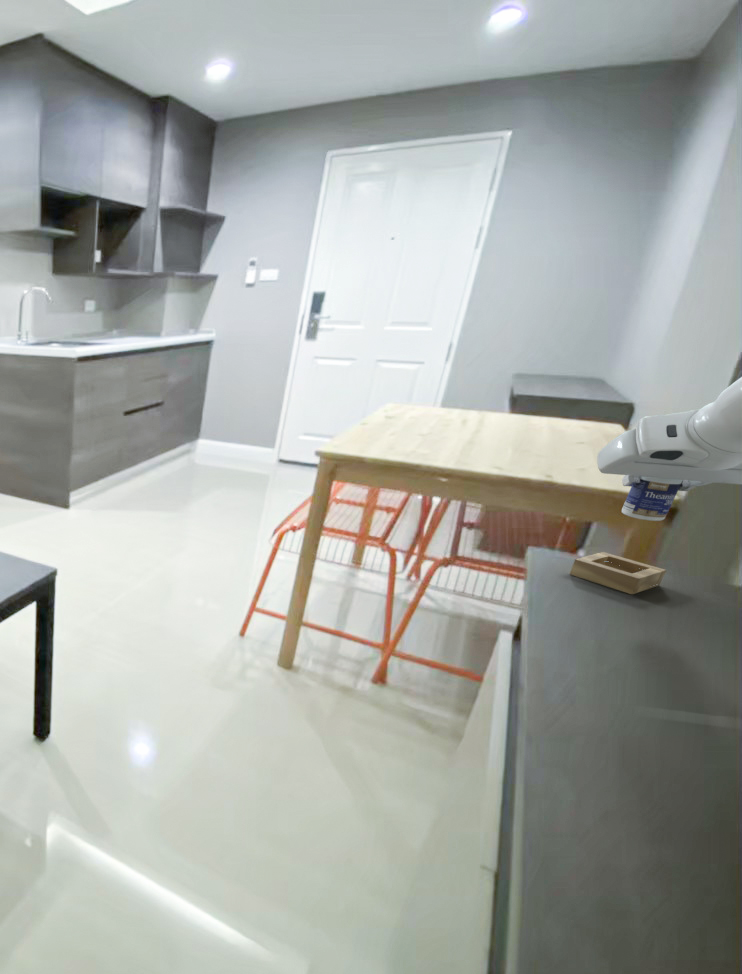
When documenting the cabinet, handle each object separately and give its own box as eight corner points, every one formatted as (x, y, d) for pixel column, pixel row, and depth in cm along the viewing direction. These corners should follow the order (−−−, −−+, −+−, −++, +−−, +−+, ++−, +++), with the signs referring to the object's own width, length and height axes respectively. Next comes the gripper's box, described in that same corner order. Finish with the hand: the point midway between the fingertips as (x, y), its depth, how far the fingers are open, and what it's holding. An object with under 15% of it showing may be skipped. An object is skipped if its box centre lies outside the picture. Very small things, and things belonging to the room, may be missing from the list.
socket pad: (596, 566, 114) (602, 551, 112) (659, 585, 106) (666, 570, 105) (569, 574, 110) (575, 559, 109) (631, 594, 103) (639, 578, 102)
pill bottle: (634, 520, 101) (659, 463, 97) (612, 510, 106) (635, 455, 102) (673, 522, 100) (699, 465, 96) (649, 512, 105) (674, 457, 101)
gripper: (811, 426, 87) (733, 475, 99) (628, 416, 94) (577, 463, 106) (819, 463, 85) (738, 509, 97) (632, 450, 92) (579, 494, 104)
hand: (653, 485), depth 101 cm, fingers closed on pill bottle, 5 cm apart
